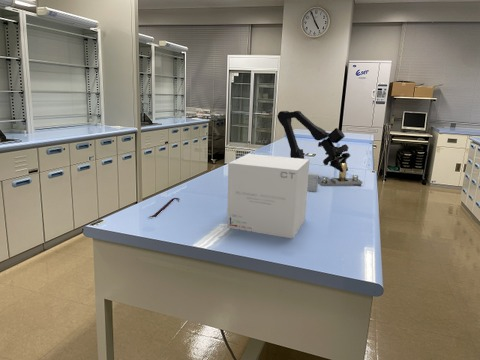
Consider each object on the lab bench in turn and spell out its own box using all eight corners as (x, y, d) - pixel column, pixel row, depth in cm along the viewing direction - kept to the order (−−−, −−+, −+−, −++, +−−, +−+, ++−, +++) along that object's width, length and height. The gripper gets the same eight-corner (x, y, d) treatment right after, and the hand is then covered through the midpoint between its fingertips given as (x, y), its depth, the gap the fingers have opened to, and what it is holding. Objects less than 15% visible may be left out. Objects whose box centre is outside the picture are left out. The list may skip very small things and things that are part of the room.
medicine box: (317, 189, 192) (318, 173, 190) (316, 192, 188) (317, 175, 186) (302, 188, 195) (303, 172, 192) (300, 190, 190) (301, 173, 188)
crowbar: (171, 197, 170) (181, 197, 170) (171, 199, 171) (181, 200, 170) (147, 217, 144) (159, 217, 143) (147, 219, 144) (159, 220, 143)
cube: (227, 227, 137) (228, 163, 131) (246, 210, 157) (248, 153, 151) (293, 238, 129) (297, 170, 123) (305, 219, 148) (309, 159, 142)
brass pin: (339, 185, 203) (341, 163, 200) (337, 183, 207) (339, 162, 204) (345, 185, 204) (348, 163, 201) (343, 183, 207) (345, 162, 204)
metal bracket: (321, 185, 200) (321, 177, 199) (316, 182, 208) (317, 173, 206) (362, 185, 202) (362, 177, 201) (356, 182, 210) (357, 174, 209)
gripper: (329, 141, 196) (345, 164, 191) (349, 138, 208) (364, 161, 203) (316, 153, 204) (331, 176, 198) (335, 150, 216) (350, 172, 210)
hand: (345, 171), depth 202 cm, fingers open, 4 cm apart
